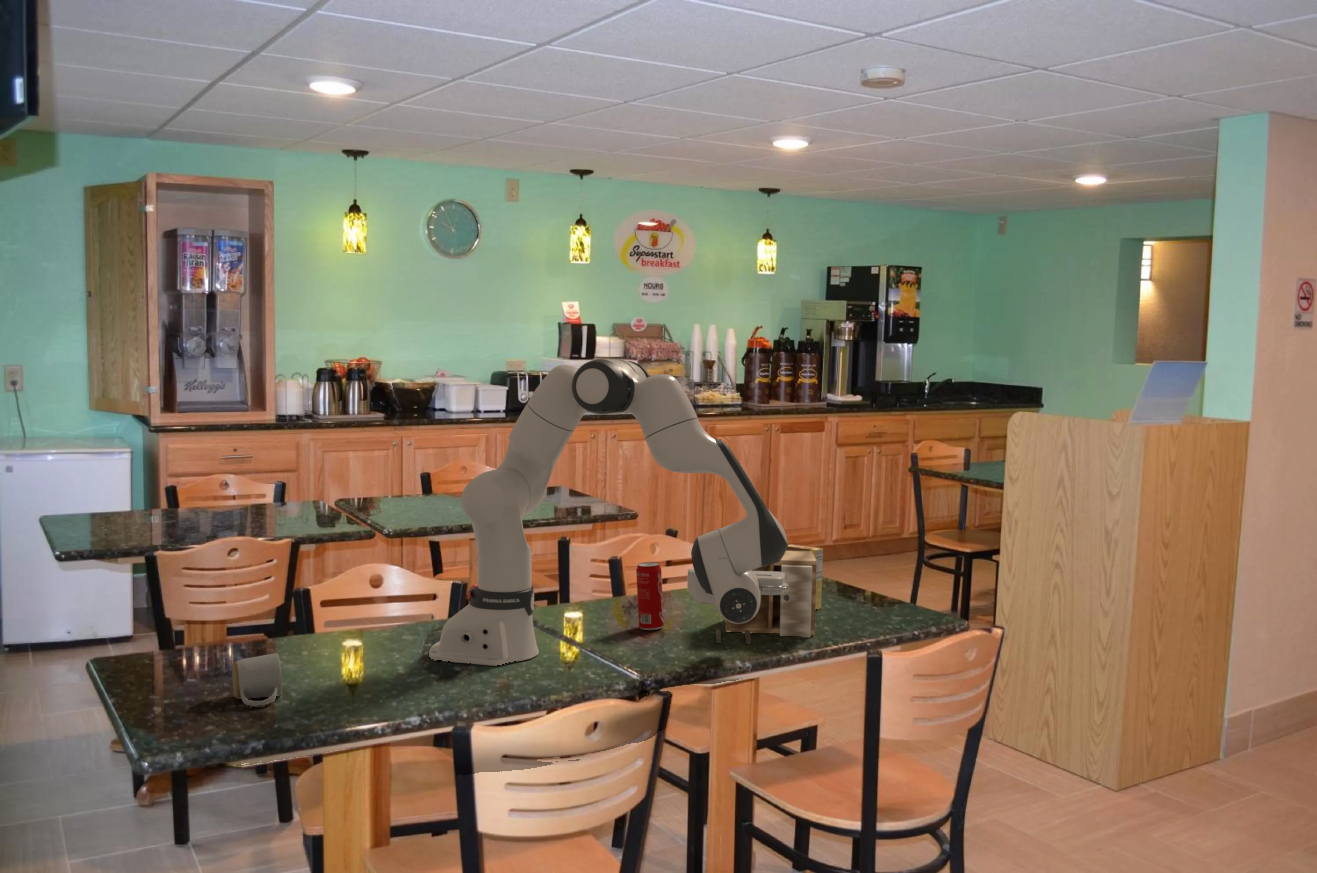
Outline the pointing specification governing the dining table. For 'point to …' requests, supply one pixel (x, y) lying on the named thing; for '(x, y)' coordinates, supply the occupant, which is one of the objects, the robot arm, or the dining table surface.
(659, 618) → the beverage can
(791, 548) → the candy box
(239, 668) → the ceramic mug
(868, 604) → the dining table surface
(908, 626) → the dining table surface
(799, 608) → the cabinet
